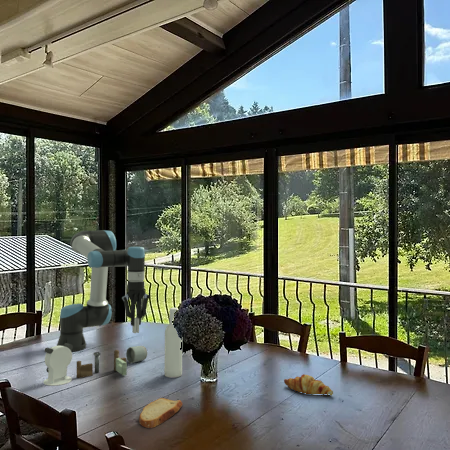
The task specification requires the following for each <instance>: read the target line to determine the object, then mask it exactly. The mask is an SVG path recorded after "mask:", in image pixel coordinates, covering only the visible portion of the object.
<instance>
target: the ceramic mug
mask: <svg viewBox="0 0 450 450" xmlns="http://www.w3.org/2000/svg"><path fill="white" fill-rule="evenodd" d="M125 356H126V357H125V358H126V361H127V362H128V363H130V364H134V363H138V362H143V361H145V360H146V359H147V357H148V350H147V348H146V347H145V346H144V345H138V346H137V345H136V346H130V347H129V346H128V348H127V349H126V353H125Z"/></svg>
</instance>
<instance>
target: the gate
mask: <svg viewBox="0 0 450 450" xmlns="http://www.w3.org/2000/svg"><path fill="white" fill-rule="evenodd" d="M121 358H122V357H119V358H116V371H115V372H117V373H119V374H120V375H122V376H126V375H127V372H128V371H127V369H128V365H127V364H128V363H127V362H128V361H126V362H124V361H123V360H121Z"/></svg>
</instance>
